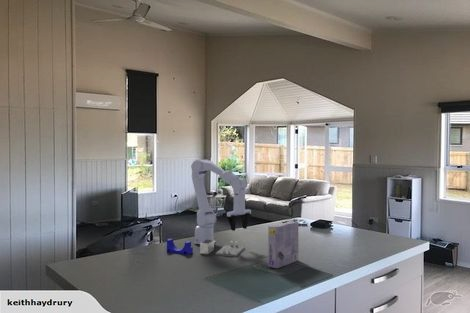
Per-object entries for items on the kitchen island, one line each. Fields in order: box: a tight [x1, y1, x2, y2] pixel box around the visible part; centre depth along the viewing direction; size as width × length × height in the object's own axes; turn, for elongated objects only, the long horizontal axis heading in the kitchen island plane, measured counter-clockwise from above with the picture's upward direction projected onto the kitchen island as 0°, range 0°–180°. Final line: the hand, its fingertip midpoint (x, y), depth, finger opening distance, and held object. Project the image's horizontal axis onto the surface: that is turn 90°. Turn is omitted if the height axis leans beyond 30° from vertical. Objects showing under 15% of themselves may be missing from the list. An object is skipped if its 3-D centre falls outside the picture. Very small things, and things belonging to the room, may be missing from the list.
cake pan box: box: [267, 221, 299, 270], centre depth 180 cm, size 19×5×18 cm, turn 141°
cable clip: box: [166, 238, 194, 256], centre depth 198 cm, size 12×4×6 cm, turn 63°
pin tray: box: [215, 240, 246, 258], centre depth 199 cm, size 10×16×4 cm, turn 164°
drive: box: [199, 239, 215, 255], centre depth 200 cm, size 4×9×5 cm, turn 164°
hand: (238, 229), depth 205 cm, fingers open, 7 cm apart
